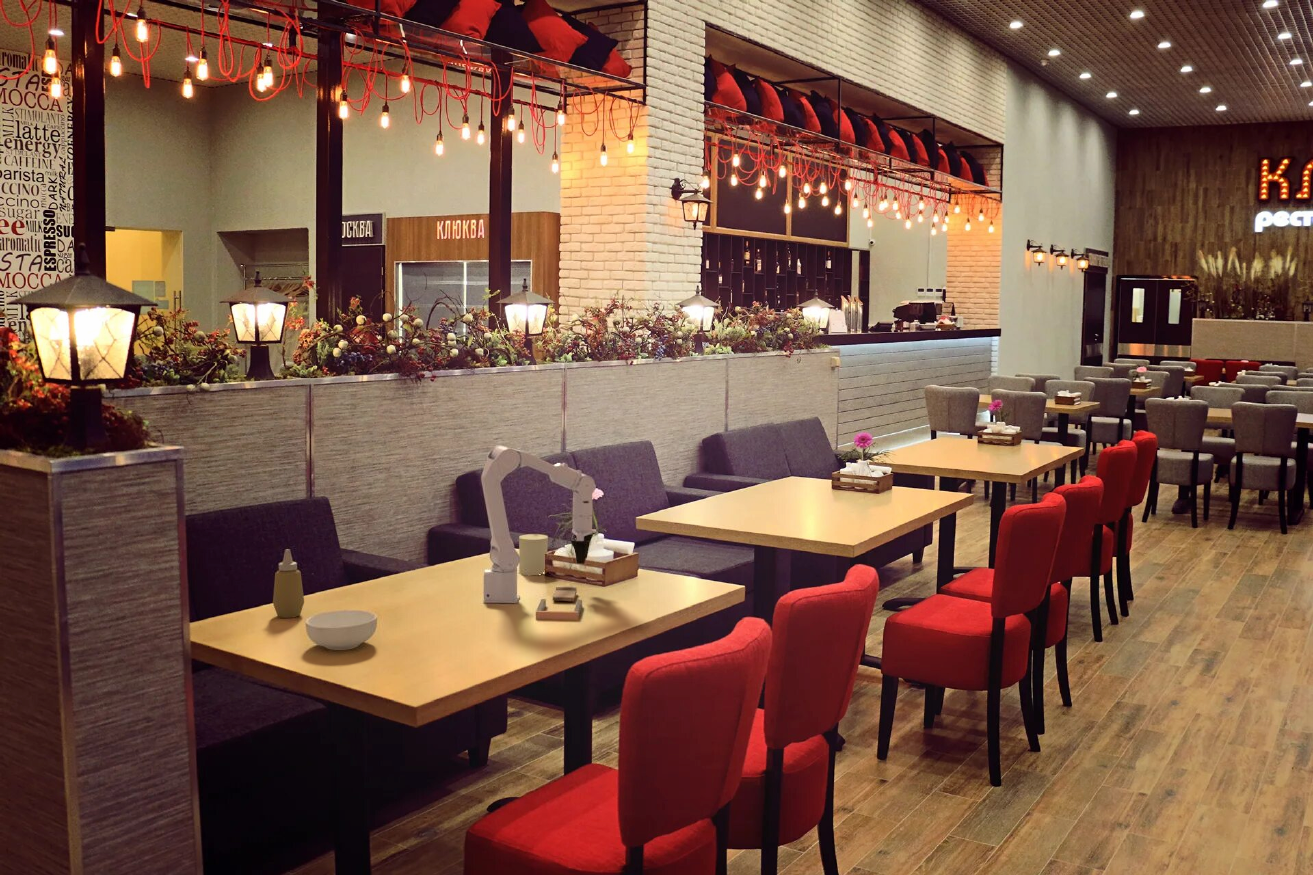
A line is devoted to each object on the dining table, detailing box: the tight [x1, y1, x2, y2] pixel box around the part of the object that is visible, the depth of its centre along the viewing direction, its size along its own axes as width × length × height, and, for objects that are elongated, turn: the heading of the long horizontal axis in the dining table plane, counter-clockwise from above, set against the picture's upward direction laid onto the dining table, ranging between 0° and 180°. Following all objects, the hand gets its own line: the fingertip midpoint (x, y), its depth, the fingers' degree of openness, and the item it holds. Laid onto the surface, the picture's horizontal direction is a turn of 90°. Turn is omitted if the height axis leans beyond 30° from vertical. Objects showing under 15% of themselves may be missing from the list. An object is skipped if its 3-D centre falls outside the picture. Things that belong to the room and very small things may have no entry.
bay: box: [535, 598, 583, 621], centre depth 319 cm, size 11×14×2 cm
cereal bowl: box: [305, 609, 378, 651], centre depth 285 cm, size 17×17×7 cm
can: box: [518, 533, 549, 576], centre depth 368 cm, size 9×9×12 cm
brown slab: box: [552, 585, 578, 603], centre depth 335 cm, size 6×10×2 cm, turn 179°
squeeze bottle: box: [272, 548, 305, 619], centre depth 311 cm, size 8×8×18 cm
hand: (582, 560), depth 341 cm, fingers open, 7 cm apart
